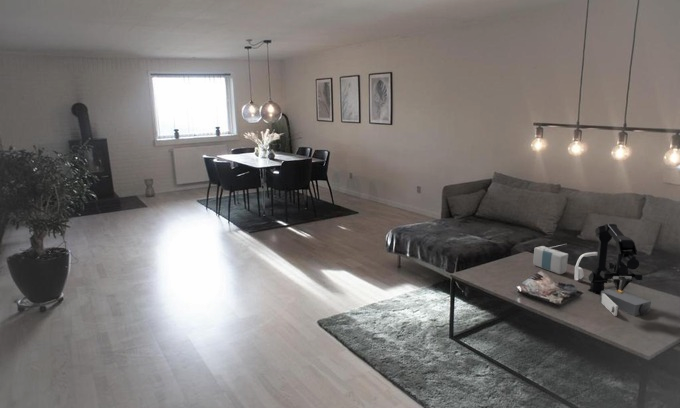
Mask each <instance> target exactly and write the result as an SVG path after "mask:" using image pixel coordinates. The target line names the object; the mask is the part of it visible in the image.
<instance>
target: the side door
mask: <svg viewBox="0 0 680 408" xmlns="http://www.w3.org/2000/svg"><path fill="white" fill-rule="evenodd" d="M600 296H601V301H600V303H601V304H602V305H603V306H604V307H605V308H606V309H607V310H608V311H609V312H610V313H611V314H612V315H613V316H614V317H617V315H618V310H619V309H618V306H617V305H616V304H615V303H614V302H613V301H612V300H611V299H610V298H609V297H607V296H606V295H605V294H604V293H602V295H601V294H600Z"/></svg>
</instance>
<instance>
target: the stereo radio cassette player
mask: <svg viewBox="0 0 680 408" xmlns="http://www.w3.org/2000/svg"><path fill="white" fill-rule="evenodd" d="M563 245H565V246H566V243H564V244H560V245H556V246H555V245H554V246H549V247H547V246H545V245H540V246H537V247H534V249H533V250H534V251H533V261H532V264H533V266H535V267H538V268H542V269H544V270H546V271H549V272H552V273H554V274H557V275H563V274H564V273H566V272H567V269H568V267H567V266H568V259H569V253H567V252H564V251H560V250H557V249H553V248H556V247H559V246H563Z"/></svg>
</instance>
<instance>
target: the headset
mask: <svg viewBox="0 0 680 408" xmlns="http://www.w3.org/2000/svg"><path fill="white" fill-rule="evenodd" d="M597 252H598V251H593V252H592V251H591V252H585V253H583V254H581V255H580V256H579V257H578V258H577V261H576V264H575V266H574V274H573V275H574V281H579V280H581V279H584V275H585V271H584V270H583V268H582V267H580V266H579V265H580V264H581V261H582V259H583V258H584V257H587V258H588V257H595V256H596V257H597Z"/></svg>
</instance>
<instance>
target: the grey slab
mask: <svg viewBox="0 0 680 408" xmlns="http://www.w3.org/2000/svg"><path fill="white" fill-rule="evenodd" d="M602 293H604V294H605V295H606V296H607V297H609V298H610V299H611V300H612V301H613V302H614V303H615V304H616V305H617V306H618V310H620V311H622V312H624V313H627V314H628V315H631V316H634V317H635V316H639V315H647V314H648V313H649V312H650V311H651V306H652V305H651V304H652V300H649V299H646V298H644V297H642V296H639V295H637V294H635V293H631V292H628V291H627V290H624V289H623V291H621V288H619V289H618V291H617V290H616V287H612V288H608V289H604V291H601V293H600V296H599V297H600V298H599V302H601V295H602Z"/></svg>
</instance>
